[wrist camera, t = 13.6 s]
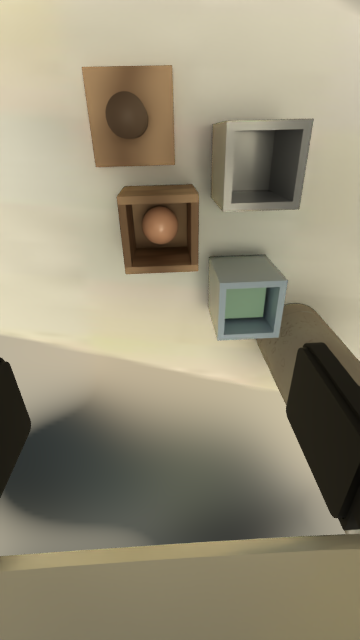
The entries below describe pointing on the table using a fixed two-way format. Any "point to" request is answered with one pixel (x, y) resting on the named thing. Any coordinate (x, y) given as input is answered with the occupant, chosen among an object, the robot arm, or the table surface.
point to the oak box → (146, 253)
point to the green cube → (245, 302)
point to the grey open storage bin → (259, 164)
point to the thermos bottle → (294, 333)
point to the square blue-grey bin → (238, 276)
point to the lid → (131, 114)
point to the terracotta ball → (160, 225)
